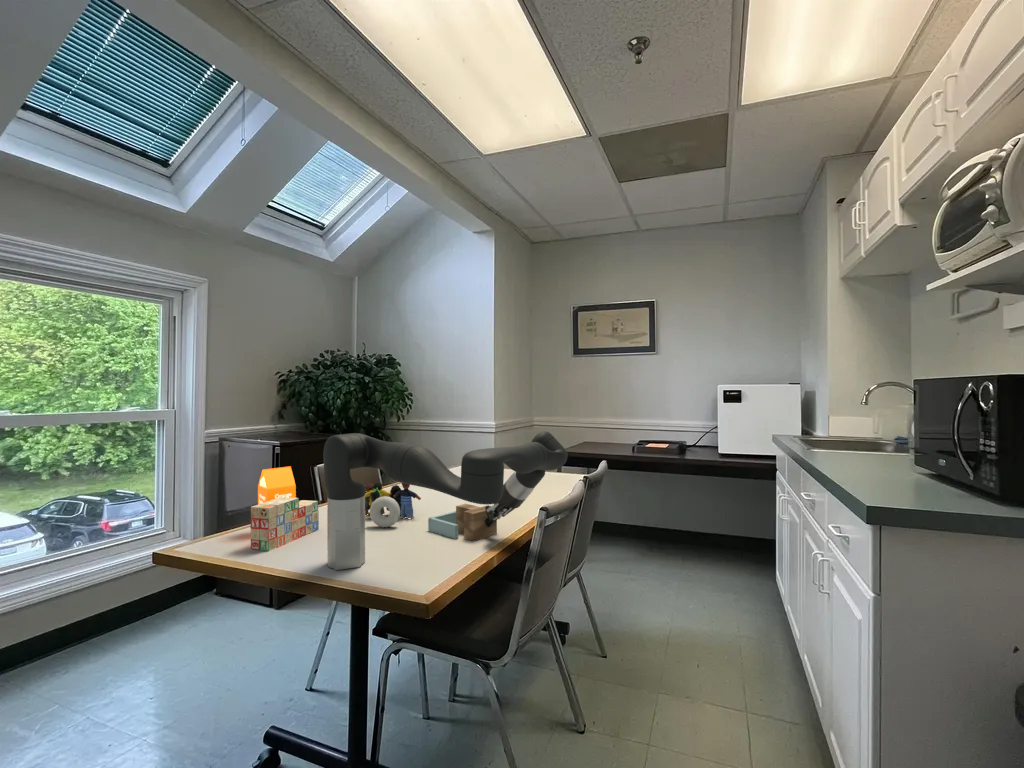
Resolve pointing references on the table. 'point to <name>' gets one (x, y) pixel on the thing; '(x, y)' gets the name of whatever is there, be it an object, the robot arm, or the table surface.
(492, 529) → the tee block
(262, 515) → the stack of blocks
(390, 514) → the donut
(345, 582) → the table surface
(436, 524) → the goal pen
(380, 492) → the doll family
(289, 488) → the orange juice
